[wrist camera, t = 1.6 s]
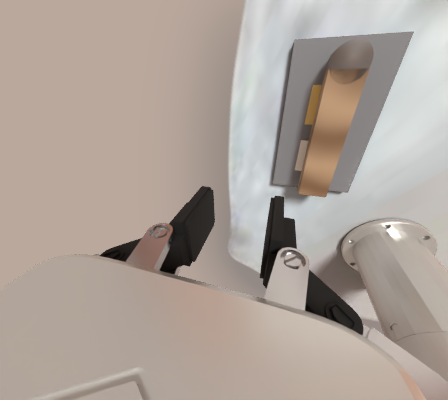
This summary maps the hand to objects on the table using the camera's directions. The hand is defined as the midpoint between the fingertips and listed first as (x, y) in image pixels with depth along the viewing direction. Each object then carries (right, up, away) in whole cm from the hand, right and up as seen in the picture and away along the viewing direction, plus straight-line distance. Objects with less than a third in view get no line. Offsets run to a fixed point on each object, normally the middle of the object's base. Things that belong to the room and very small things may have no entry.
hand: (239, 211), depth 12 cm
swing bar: (+12, +10, +11) cm, 19 cm away
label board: (+13, +11, +13) cm, 21 cm away
